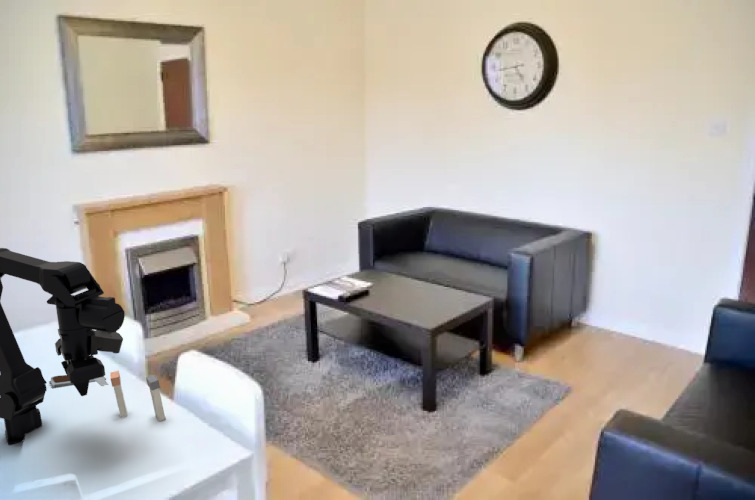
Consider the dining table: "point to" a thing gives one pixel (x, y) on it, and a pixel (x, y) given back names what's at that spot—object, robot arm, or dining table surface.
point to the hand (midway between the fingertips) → (83, 394)
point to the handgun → (64, 381)
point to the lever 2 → (156, 396)
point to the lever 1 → (118, 392)
